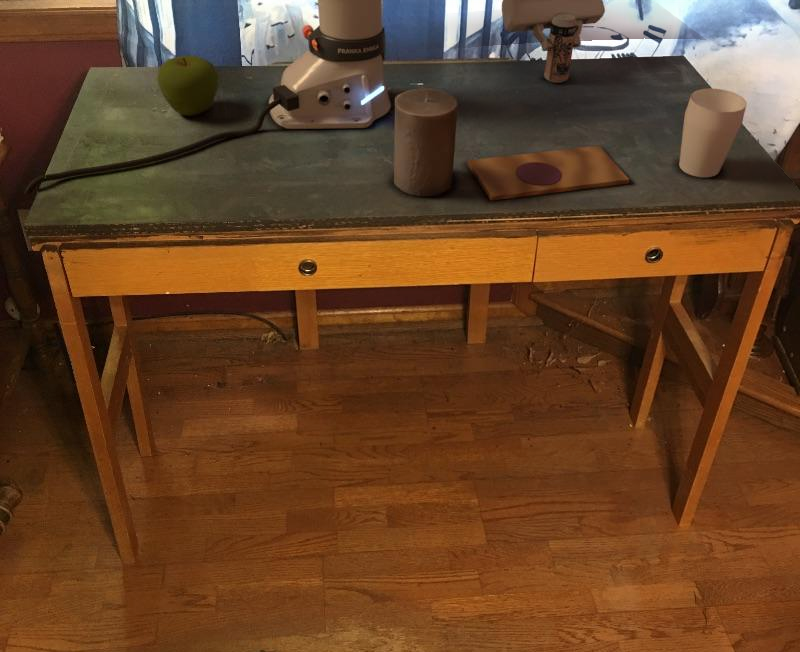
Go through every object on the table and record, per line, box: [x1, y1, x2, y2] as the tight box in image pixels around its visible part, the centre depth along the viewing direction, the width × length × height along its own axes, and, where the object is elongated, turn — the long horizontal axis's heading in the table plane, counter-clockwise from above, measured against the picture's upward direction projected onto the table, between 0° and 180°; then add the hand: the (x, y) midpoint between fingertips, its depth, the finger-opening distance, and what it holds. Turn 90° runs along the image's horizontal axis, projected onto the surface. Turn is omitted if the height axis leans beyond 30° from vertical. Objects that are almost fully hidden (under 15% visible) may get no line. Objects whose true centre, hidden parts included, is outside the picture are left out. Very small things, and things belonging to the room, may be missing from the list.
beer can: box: [543, 13, 577, 84], centre depth 166 cm, size 5×5×12 cm
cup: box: [678, 87, 747, 178], centre depth 141 cm, size 9×9×12 cm
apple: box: [157, 55, 219, 117], centre depth 153 cm, size 11×10×10 cm
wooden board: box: [467, 145, 630, 201], centre depth 142 cm, size 24×12×1 cm, turn 105°
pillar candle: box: [393, 88, 458, 198], centre depth 135 cm, size 10×10×15 cm
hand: (561, 48), depth 165 cm, fingers closed on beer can, 5 cm apart
